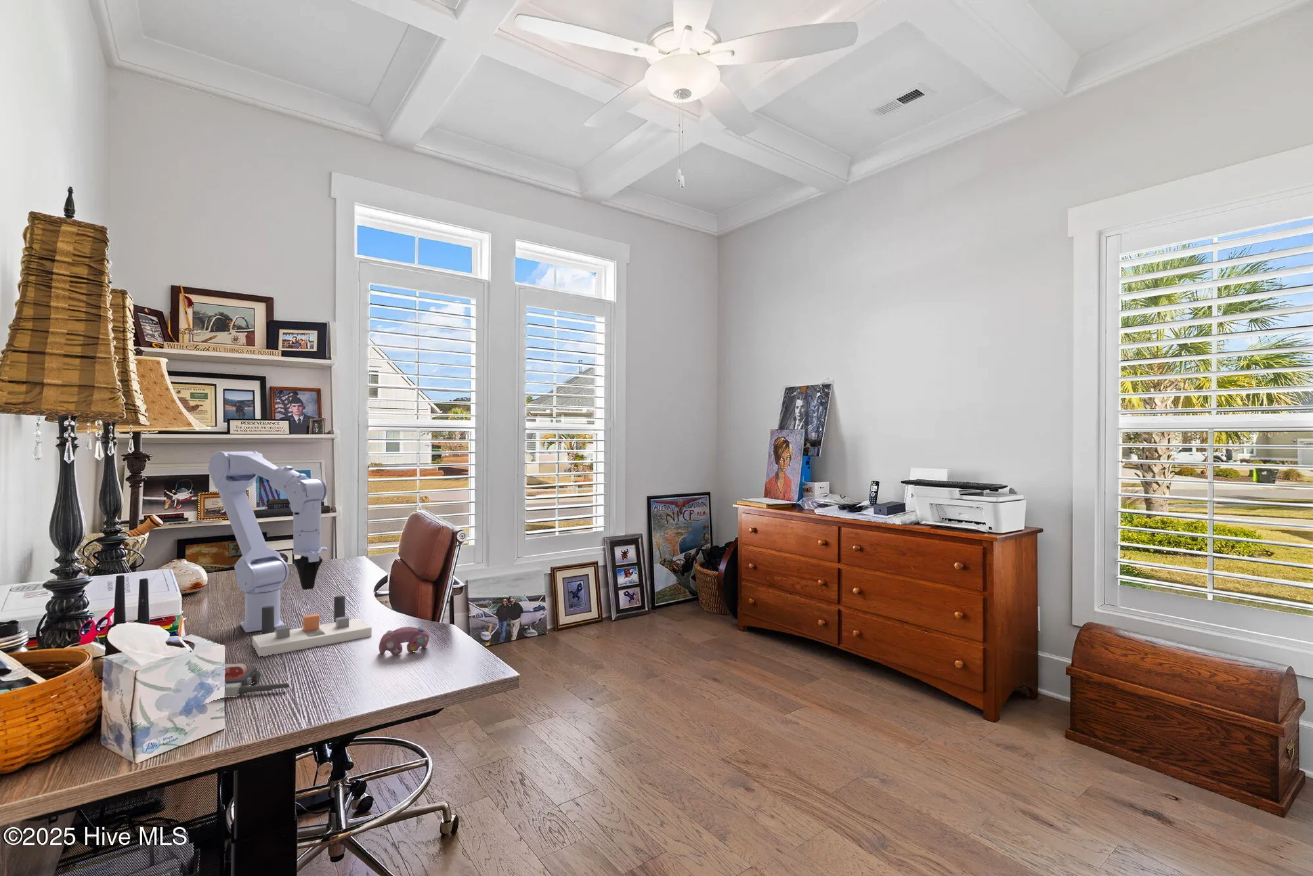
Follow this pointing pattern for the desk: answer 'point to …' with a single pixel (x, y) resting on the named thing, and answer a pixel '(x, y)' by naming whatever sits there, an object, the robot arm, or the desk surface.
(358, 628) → the off-white rectangular base
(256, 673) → the toy chainsaw
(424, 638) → the video game controller
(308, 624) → the slide switch
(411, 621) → the desk surface
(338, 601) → the post
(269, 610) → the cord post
